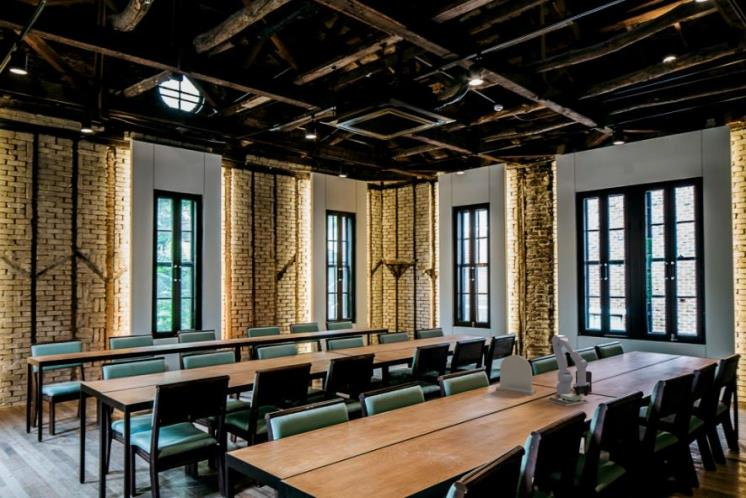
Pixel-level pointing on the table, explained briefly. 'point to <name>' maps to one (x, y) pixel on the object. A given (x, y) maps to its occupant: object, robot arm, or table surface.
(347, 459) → the table surface
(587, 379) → the calculator
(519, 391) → the award
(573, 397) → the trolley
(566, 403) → the dock
